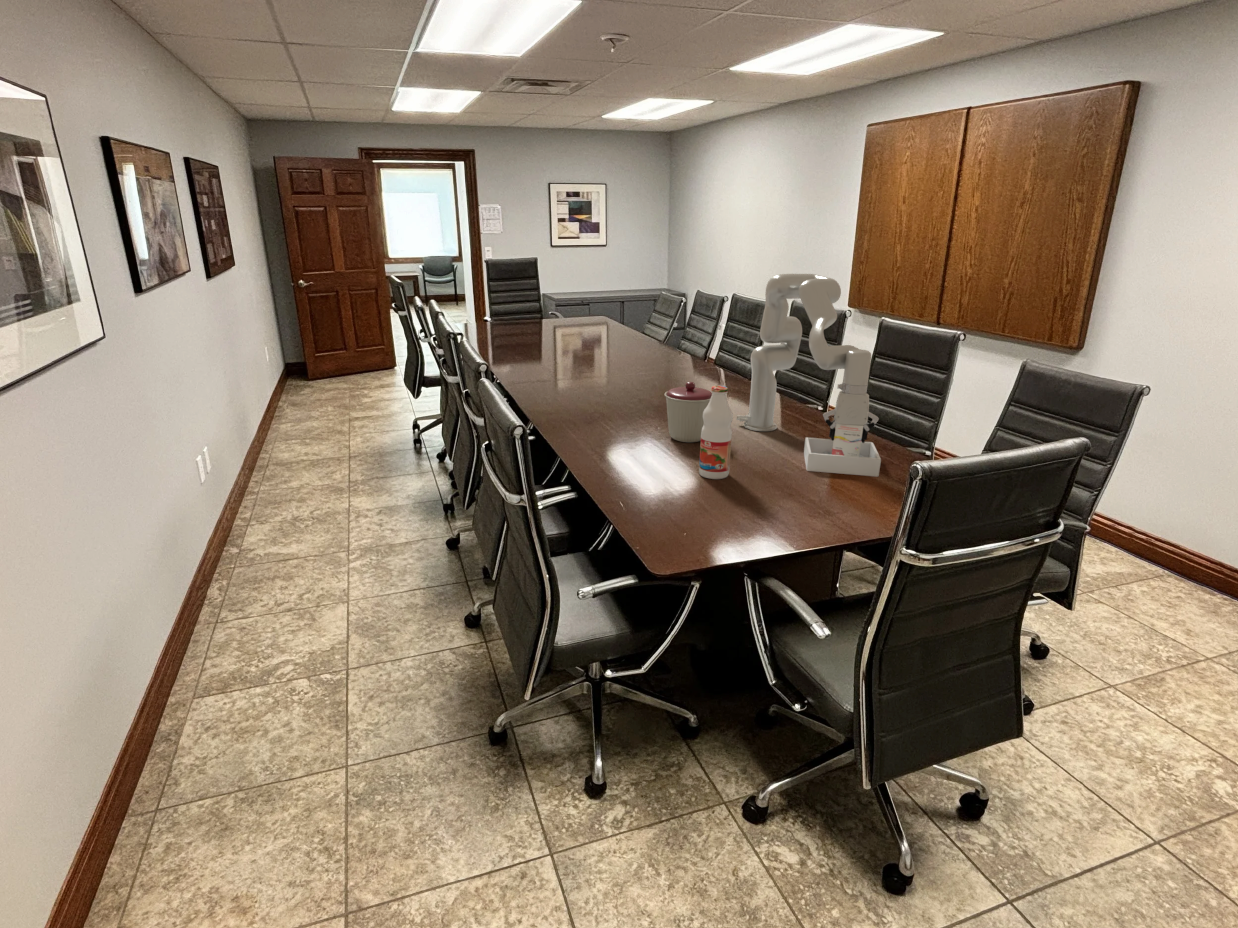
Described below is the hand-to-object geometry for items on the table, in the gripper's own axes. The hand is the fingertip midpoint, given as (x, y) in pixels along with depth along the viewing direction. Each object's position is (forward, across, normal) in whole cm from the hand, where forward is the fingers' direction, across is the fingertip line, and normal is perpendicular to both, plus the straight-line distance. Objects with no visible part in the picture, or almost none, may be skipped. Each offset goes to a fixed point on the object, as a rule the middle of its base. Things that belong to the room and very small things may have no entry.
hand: (847, 440), depth 225 cm
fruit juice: (+9, -42, -20) cm, 47 cm away
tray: (+8, -2, 0) cm, 9 cm away
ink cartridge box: (+6, 0, 0) cm, 6 cm away
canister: (+9, -54, +16) cm, 56 cm away
